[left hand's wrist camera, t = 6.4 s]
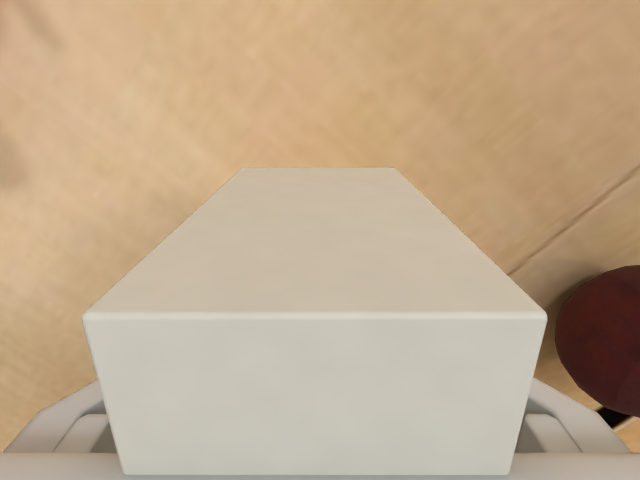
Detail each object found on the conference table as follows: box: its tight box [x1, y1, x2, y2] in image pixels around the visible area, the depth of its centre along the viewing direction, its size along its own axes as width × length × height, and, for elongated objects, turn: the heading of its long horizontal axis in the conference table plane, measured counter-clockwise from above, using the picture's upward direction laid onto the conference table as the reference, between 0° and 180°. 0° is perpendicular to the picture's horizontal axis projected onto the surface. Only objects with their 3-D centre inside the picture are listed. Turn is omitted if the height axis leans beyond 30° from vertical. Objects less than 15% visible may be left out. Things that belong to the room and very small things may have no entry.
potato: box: [555, 265, 640, 418], centre depth 19 cm, size 7×8×7 cm
